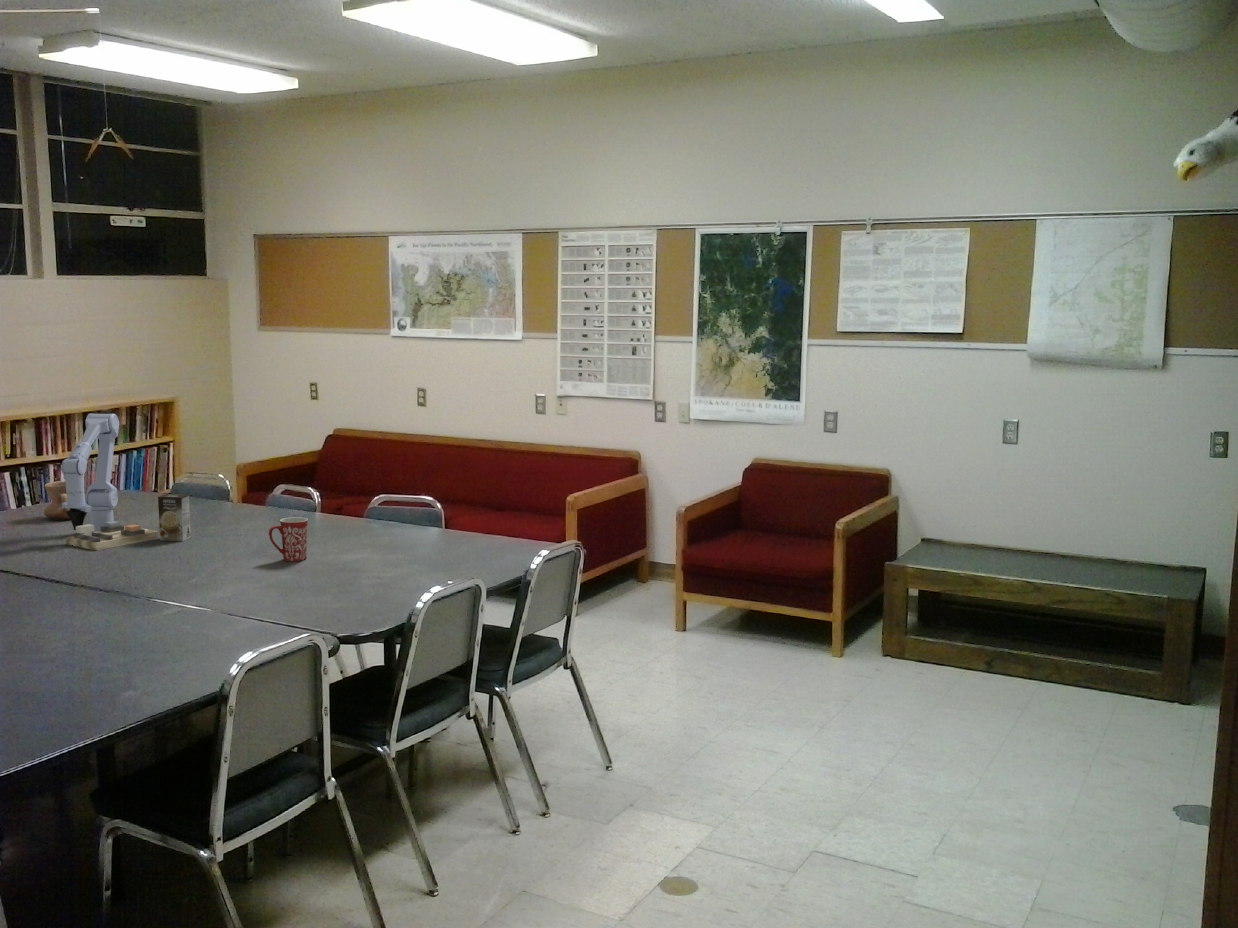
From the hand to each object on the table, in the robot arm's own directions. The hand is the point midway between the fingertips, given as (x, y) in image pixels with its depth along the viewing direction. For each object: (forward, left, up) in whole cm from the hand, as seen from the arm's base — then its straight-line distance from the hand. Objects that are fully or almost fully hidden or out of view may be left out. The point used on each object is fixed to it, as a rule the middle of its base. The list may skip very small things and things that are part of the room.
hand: (78, 529), depth 384 cm
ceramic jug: (-45, +23, -5) cm, 51 cm away
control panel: (+8, +8, -5) cm, 12 cm away
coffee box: (+24, +22, -5) cm, 33 cm away
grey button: (+2, +12, -1) cm, 12 cm away
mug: (+83, +22, -5) cm, 86 cm away
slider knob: (+4, 0, -2) cm, 5 cm away
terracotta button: (+14, +12, -1) cm, 18 cm away
